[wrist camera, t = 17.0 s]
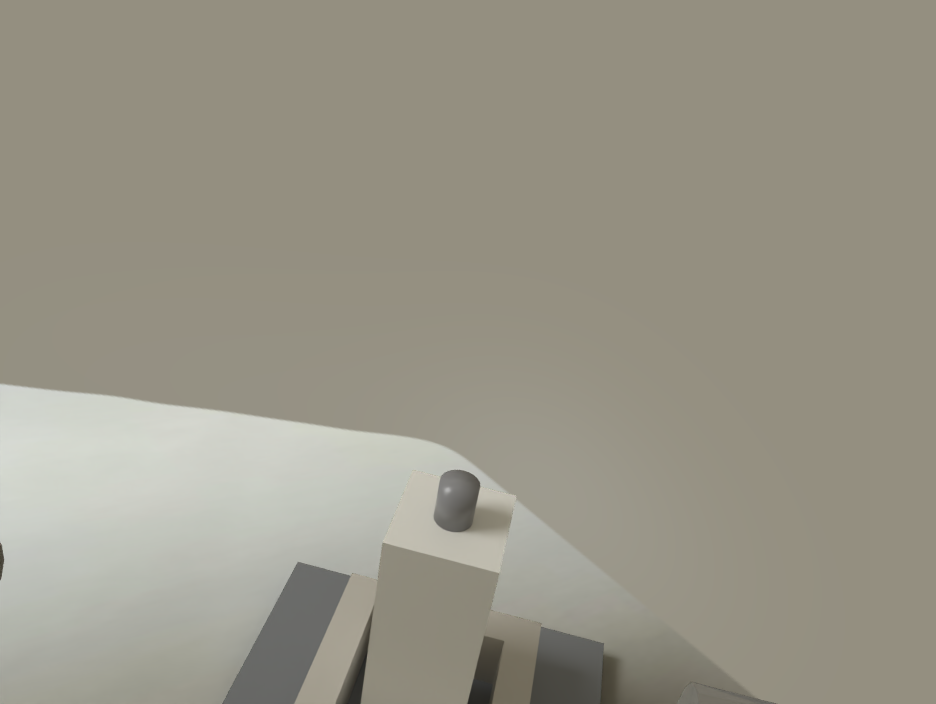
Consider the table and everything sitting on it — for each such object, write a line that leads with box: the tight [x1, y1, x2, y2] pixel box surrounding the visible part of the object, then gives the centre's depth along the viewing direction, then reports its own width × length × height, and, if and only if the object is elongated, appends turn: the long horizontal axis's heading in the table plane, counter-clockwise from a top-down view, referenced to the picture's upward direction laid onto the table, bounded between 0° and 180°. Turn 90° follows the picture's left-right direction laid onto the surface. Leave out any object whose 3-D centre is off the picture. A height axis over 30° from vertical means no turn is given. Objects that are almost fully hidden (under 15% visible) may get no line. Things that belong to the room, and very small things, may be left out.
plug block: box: [361, 470, 516, 704], centre depth 30 cm, size 4×4×14 cm
